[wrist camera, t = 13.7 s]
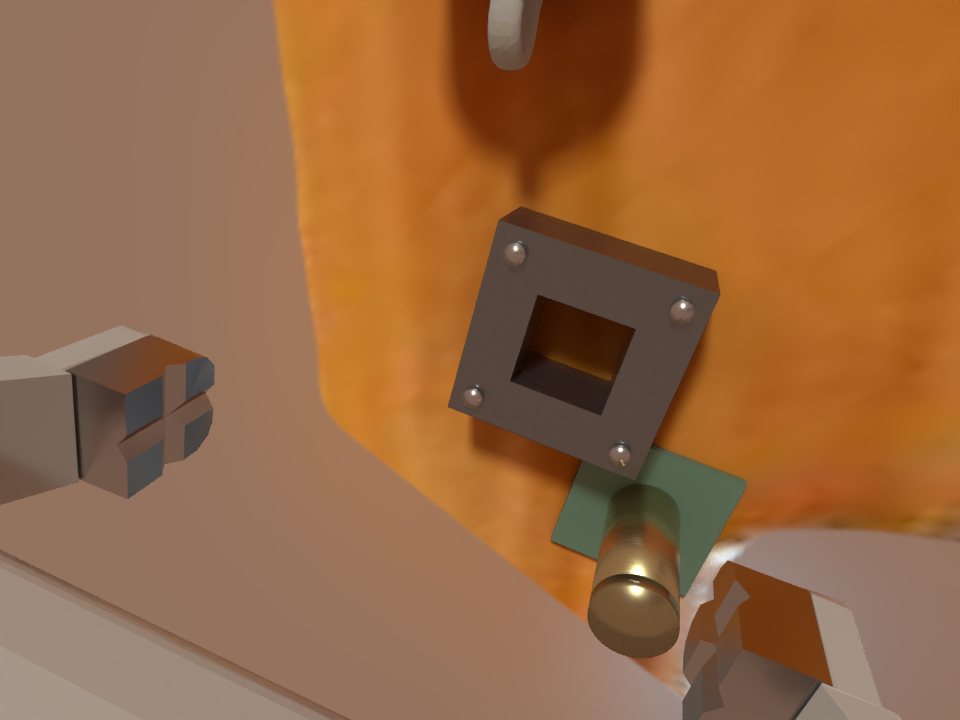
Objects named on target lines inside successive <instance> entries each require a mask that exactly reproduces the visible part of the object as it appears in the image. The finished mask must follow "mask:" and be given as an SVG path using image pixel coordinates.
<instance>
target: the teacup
mask: <svg viewBox="0 0 960 720" xmlns="http://www.w3.org/2000/svg"><path fill="white" fill-rule="evenodd" d="M542 3H543V0H491V1H490V7H489V14H488V46H489V52H490V56H491V60H492V61H493V63H494V64H495V65H496V66H497V67H498V68H500V69H502V70H508V71H510V70H519V69H522V68H524V67H525V66H526V65H527V64H528V63H529V61H530V58H531V56H532V52H533V48H534V44H535V40H536V34H537V28H538V21H539V15H540V10H541V7H542Z"/></svg>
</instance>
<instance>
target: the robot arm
mask: <svg viewBox="0 0 960 720" xmlns="http://www.w3.org/2000/svg"><path fill="white" fill-rule="evenodd" d="M213 385H214V365H213V363H212V362H211V361H210V360H209V359H208V358H207V357H204V356H202V355H200V354H197V353H195V352H192V351H190V350H188V349H185V348H183V347H181V346H178V345H176V344H173V343H171V342H169V341H166V340H164V339H161V338H159V337H155V336H153V335H152V334H149V333H146V332H143V331H141V330H138V329H136V328H133V327H128V326H118V327H116V328H113V329H110V330H108V331H105V332H102V333H100V334H97V335H94V336H92V337H89V338H87V339H84V340H81V341H79V342H76V343H74V344H71V345H69V346H66V347H63V348H60V349H58V350H55V351H52V352H50V353H47V354H45V355H42V356H39V357H37V358H32V357H29V356H27V355H20V356H4V357H0V505H2V504H5V503H8V502H12V501H15V500H19V499H22V498H26V497H29V496H32V495H36V494H39V493H43V492H46V491H50V490H53V489H56V488H60V487H63V486H67V485H70V484H74V483H77V482H79V479H80V480H82V481H85V482H87V483H90V484H92V485H95V486H97V487H99V488H102V489H104V490H107V491H109V492H112V493H114V494H116V495H119V496H121V497H124V498H126V499H129V498H130V497H132V496H133V495H134V494H136V493H137V492H139V491H140V490H142V489H143V488H145V487H146V486H147V485H149V484H150V483H152V482H153V481H155V480H156V479H157V478H159V477H160V476H162V473H163V469H164V464H167V463H172V462H177V461H181V460H184V459H186V458H187V457H188V456H190V455H191V454H193V453H194V452H195V451H197V449H198V448H199V447H200V445H201V444H202V442H203V441H204V440H205V438H206V437H207V435H208V433H209V429H210V427H211V424H212V416H213V407H212V405H211V403H210V401H209V399H208V397H207V395H206V391H208V390H209V389H210V388H211V387H212V386H213ZM713 590H714V600H711V601H708V602H706V603H704V604H701V605H700V607H699V609H698V611H697V613H696V615H695V617H694V619H693V621H692V623H691V626H690V629H689V632H688V636H687V639H686V642H685V649H684V656H683V673H684V675H685V677H686V678H687V680H688V682H689V683H690V685H691V687H690V689H689V691H688V692H687V694H686V696H685V698H684V699H683V720H902V719H901V718H900V717H899V716H898V715H897V714H896V713H893V712H891V711H889V710H887V709H884V708H883V706H882V703H881V700H880V697H879V694H878V691H877V688H876V685H875V682H874V679H873V676H872V673H871V670H870V667H869V664H868V660H867V657H866V655H865V651H864V648H863V645H862V642H861V639H860V636H859V633H858V630H857V627H856V624H855V621H854V618H853V615H852V612H851V609H850V608H849V607H848V606H847V605H846V604H845V603H844V602H842V601H839V600H836V599H833V598H831V597H828V596H825V595H822V594H819V593H817V592H814V591H811V590H808V589H803V588H800V587H798V586H795V585H792V584H790V583H787V582H784V581H781V580H779V579H776V578H773V577H771V576H768V575H765V574H763V573H760V572H757V571H755V570H752V569H749V568H747V567H744V566H741V565H739V564H736V563H733V562H731V561H727V562H726V563H725V564H724V565H723V566H722V567H721V568H720V570H719V572H718V574H717V576H716V577H715V579H714V581H713ZM0 720H350V719H348V718H346V717H344V716H342V715H340V714H338V713H336V712H334V711H331V710H330V709H327V708H326V707H323V706H321V705H319V704H317V703H315V702H313V701H311V700H309V699H307V698H305V697H303V696H300V695H299V694H297V693H295V692H293V691H291V690H288V689H286V688H284V687H282V686H280V685H278V684H276V683H274V682H272V681H270V680H268V679H266V678H264V677H262V676H260V675H257V674H256V673H253V672H251V671H249V670H247V669H245V668H243V667H241V666H239V665H237V664H235V663H233V662H231V661H229V660H227V659H225V658H223V657H221V656H218V655H216V654H214V653H212V652H210V651H208V650H206V649H204V648H202V647H200V646H198V645H195V644H194V643H192V642H190V641H187V640H186V639H184V638H181V637H179V636H177V635H175V634H173V633H171V632H169V631H167V630H165V629H163V628H161V627H159V626H157V625H155V624H153V623H150V622H148V621H146V620H144V619H142V618H140V617H138V616H136V615H134V614H132V613H130V612H128V611H126V610H124V609H122V608H120V607H118V606H116V605H114V604H111V603H109V602H107V601H105V600H103V599H101V598H99V597H97V596H95V595H93V594H91V593H89V592H87V591H84V590H83V589H81V588H79V587H76V586H74V585H72V584H70V583H68V582H66V581H64V580H62V579H60V578H58V577H56V576H54V575H52V574H50V573H47V572H46V571H44V570H41V569H39V568H37V567H35V566H33V565H31V564H29V563H27V562H25V561H23V560H21V559H19V558H17V557H15V556H13V555H10V554H9V553H6V552H4V551H2V550H0Z"/></svg>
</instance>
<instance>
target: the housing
mask: <svg viewBox="0 0 960 720" xmlns="http://www.w3.org/2000/svg"><path fill="white" fill-rule="evenodd" d="M719 296H720V289H719V284H718V278H717V273H716V271H714V270H711V269H708V268H705V267H702V266H699V265H696V264H693V263H690V262H687V261H684V260H681V259H678V258H675V257H672V256H669V255H666V254H663V253H660V252H657V251H654V250H651V249H648V248H645V247H642V246H639V245H636V244H633V243H630V242H627V241H624V240H621V239H618V238H615V237H612V236H609V235H605V234H602V233H599V232H596V231H593V230H590V229H587V228H584V227H581V226H578V225H575V224H572V223H569V222H566V221H563V220H560V219H557V218H554V217H551V216H548V215H545V214H542V213H539V212H536V211H533V210H530V209H527V208H524V207H519V208H518V209H516V210H514V211H513V212H511V213H509V214H508V215H506V216H504V217H503V218H501V219H500V220H499V221H498V225H497V228H496V232H495V236H494V239H493V243H492V247H491V250H490V254H489V258H488V261H487V265H486V269H485V272H484V276H483V280H482V283H481V287H480V291H479V294H478V298H477V302H476V305H475V309H474V313H473V316H472V320H471V324H470V327H469V331H468V335H467V338H466V342H465V346H464V349H463V353H462V357H461V360H460V364H459V368H458V371H457V375H456V379H455V382H454V386H453V390H452V393H451V397H450V401H449V404H448V407H449V408H452V409H454V410H457V411H459V412H462V413H464V414H467V415H469V416H472V417H475V418H477V419H480V420H482V421H485V422H487V423H490V424H492V425H495V426H497V427H500V428H502V429H505V430H507V431H510V432H513V433H515V434H518V435H520V436H523V437H525V438H528V439H530V440H533V441H535V442H538V443H540V444H543V445H545V446H548V447H551V448H553V449H556V450H558V451H561V452H563V453H566V454H568V455H571V456H573V457H576V458H578V459H581V460H584V461H586V462H589V463H591V464H594V465H596V466H599V467H601V468H604V469H606V470H609V471H611V472H614V473H616V474H619V475H622V476H624V477H627V478H629V479H632V480H634V481H635V480H636V477H637V475H638V473H639V471H640V469H641V466H642V464H643V462H644V460H645V458H646V456H647V453H648V451H649V449H650V447H651V445H652V442H653V440H654V438H655V436H656V434H657V432H658V429H659V427H660V425H661V423H662V421H663V419H664V416H665V414H666V412H667V410H668V408H669V405H670V403H671V401H672V399H673V397H674V395H675V392H676V390H677V388H678V386H679V384H680V381H681V379H682V377H683V375H684V373H685V371H686V368H687V366H688V364H689V362H690V360H691V358H692V355H693V353H694V351H695V349H696V347H697V344H698V342H699V340H700V338H701V336H702V334H703V331H704V329H705V327H706V325H707V323H708V320H709V318H710V316H711V314H712V312H713V310H714V307H715V305H716V303H717V301H718V299H719ZM546 298H549V299H552V300H555V301H558V302H561V303H563V304H566V305H569V306H572V307H575V308H578V309H580V310H583V311H586V312H589V313H592V314H595V315H597V316H600V317H603V318H606V319H609V320H612V321H614V322H617V323H620V324H623V325H626V326H629V327H631V328H632V329H631V332H630V334H629V337H628V339H627V342H626V344H625V347H624V349H623V352H622V354H621V357H620V359H619V362H618V364H617V367H616V369H615V372H614V374H613V377H612V379H611V382H610V381H607V380H605V379H602V378H599V377H597V376H594V375H591V374H588V373H586V372H583V371H580V370H578V369H575V368H572V367H569V366H567V365H564V364H561V363H559V362H556V361H553V360H551V359H548V358H545V357H542V356H540V355H537V354H534V353H532V352H529V350H530V347H531V344H532V341H533V338H534V335H535V332H536V329H537V325H538V322H539V319H540V316H541V313H542V310H543V307H544V304H545V301H546Z"/></svg>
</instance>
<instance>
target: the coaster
mask: <svg viewBox="0 0 960 720" xmlns="http://www.w3.org/2000/svg"><path fill="white" fill-rule="evenodd" d="M633 484H647V485H651V486H655V487H657V488H659V489H661V490H663V491H665V492H666V493H667V494H669V495H670V496H671V497H672V498H673V499H674V501H675V502H676V504H677V506H678V508H679V511H680V595H682V596H684V597H685V595H686V593H687V592H688V590H689V588H690V586H691V584H692V583H693V581H694V579H695V577H696V576H697V574H698V572H699V570H700V568H701V567H702V565H703V563H704V561H705V560H706V558H707V556H708V554H709V552H710V551H711V549H712V547H713V545H714V544H715V542H716V540H717V538H718V536H719V535H720V533H721V531H722V529H723V528H724V526H725V524H726V522H727V520H728V519H729V517H730V515H731V513H732V511H733V510H734V508H735V506H736V504H737V503H738V501H739V499H740V497H741V495H742V494H743V492H744V490H745V488H746V487H747V483H746V480H743V479H740V478H738V477H735V476H732V475H730V474H727V473H725V472H722V471H719V470H717V469H714V468H712V467H709V466H706V465H704V464H701V463H699V462H696V461H693V460H691V459H688V458H685V457H683V456H680V455H678V454H675V453H672V452H670V451H667V450H665V449H662V448H659V447H657V446H654V445H651V447H650V449H649V451H648V453H647V456H646V458H645V460H644V462H643V464H642V466H641V469H640V471H639V473H638V475H637V477H636V480H635V481H634V480H632V479H629V478H627V477H624V476H622V475H619V474H616V473H614V472H611V471H609V470H606V469H604V468H601V467H599V466H596V465H594V464H591V463H589V462H586V461H584V460H582V462H581V464H580V467H579V469H578V472H577V474H576V477H575V479H574V482H573V484H572V487H571V489H570V491H569V494H568V496H567V499H566V501H565V504H564V506H563V509H562V511H561V514H560V516H559V519H558V521H557V524H556V526H555V529H554V531H553V534H552V536H551V539H550V540H551V541H553V542H556V543H558V544H561V545H563V546H565V547H568V548H570V549H572V550H575V551H577V552H580V553H582V554H584V555H587V556H589V557H591V558H594V559H596V560H598V555H599V550H600V544H601V539H602V534H603V529H604V523H605V518H606V513H607V508H608V503H609V501H610V499H611V497H612V496H613V495H614V494H615V493H616V492H617V491H618V490H620V489H621V488H623V487H626V486H629V485H633Z"/></svg>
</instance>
